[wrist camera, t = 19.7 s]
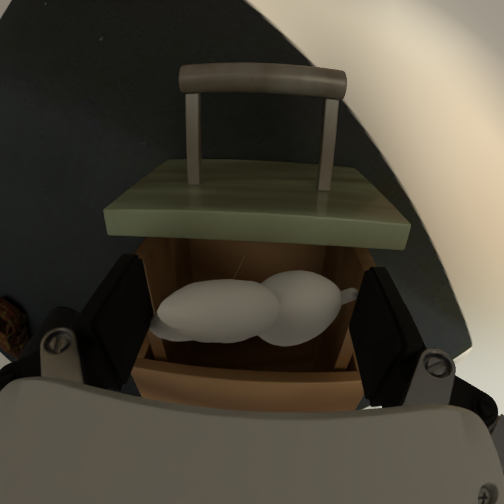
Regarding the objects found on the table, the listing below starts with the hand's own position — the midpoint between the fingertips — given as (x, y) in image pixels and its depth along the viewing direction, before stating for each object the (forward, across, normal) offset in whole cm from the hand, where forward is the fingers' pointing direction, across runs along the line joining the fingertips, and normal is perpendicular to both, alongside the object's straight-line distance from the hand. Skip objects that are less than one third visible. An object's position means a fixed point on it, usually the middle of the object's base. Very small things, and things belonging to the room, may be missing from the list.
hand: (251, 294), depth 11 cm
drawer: (+10, 0, +2) cm, 10 cm away
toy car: (+11, +34, +19) cm, 40 cm away
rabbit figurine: (+2, 0, 0) cm, 2 cm away
